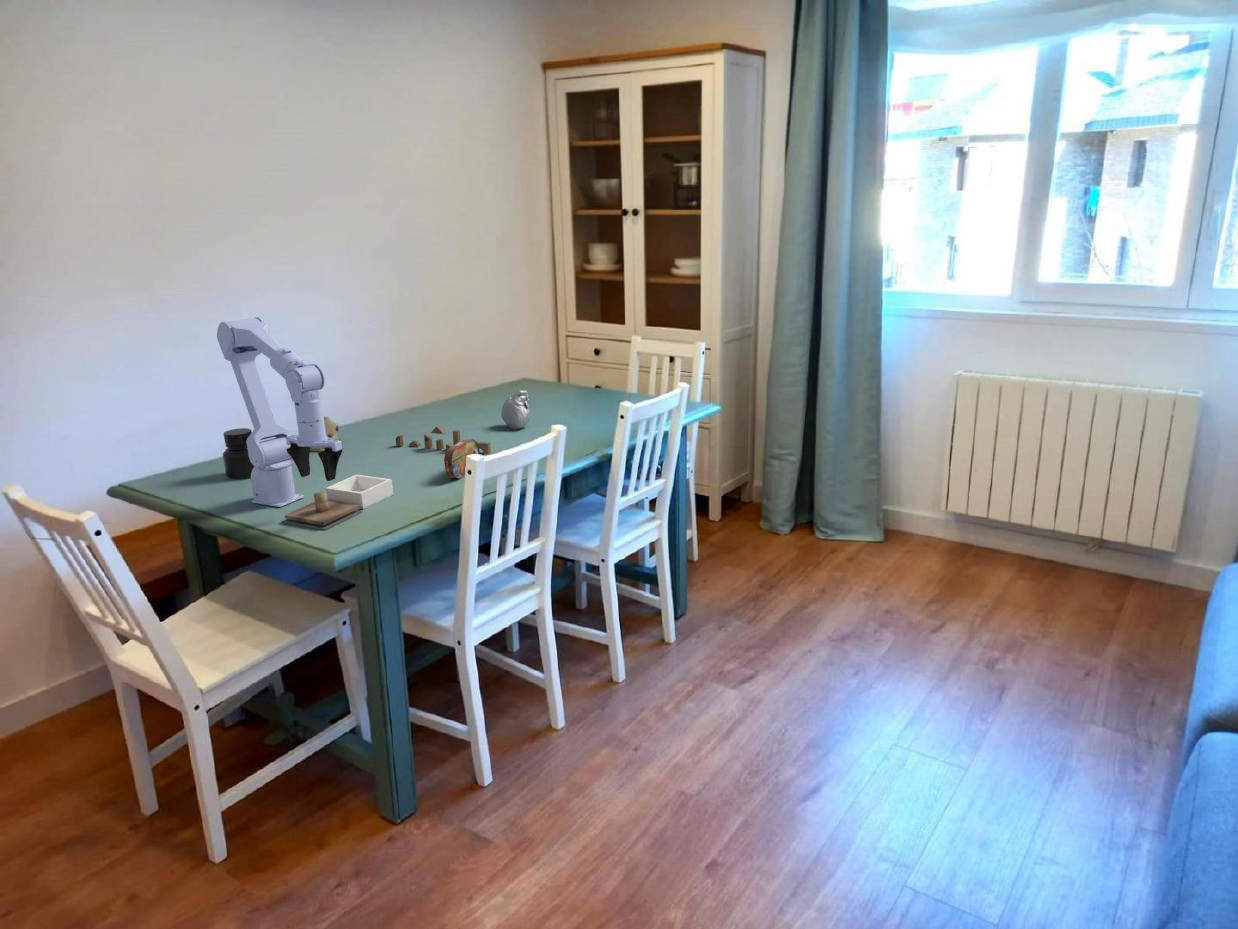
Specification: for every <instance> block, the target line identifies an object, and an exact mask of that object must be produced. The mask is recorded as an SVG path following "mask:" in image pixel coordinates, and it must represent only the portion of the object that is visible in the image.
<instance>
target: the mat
mask: <svg viewBox="0 0 1238 929" xmlns="http://www.w3.org/2000/svg"><path fill="white" fill-rule="evenodd" d="M362 513H363V510H359V509H357V510H355V511H353V512H351V513H349V514H347V515H345V516H343V517H341V518H338V519H336V520H334V521H332V522H330V523H328V524H326V525H319V524H313V523H308V522H302V521H297V520H291V519H286V518H284V519H283V520H281V523H283V524H288V525H292V526H299V527H306V528H311V529H317V530H322V531H327V530H330V529H332V528H334V527H335V526H337V525H340V524H342V523H344V522H345V521H347V520H349V519H352V518H354V517H355V516H358V515H360V514H362Z"/></svg>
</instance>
